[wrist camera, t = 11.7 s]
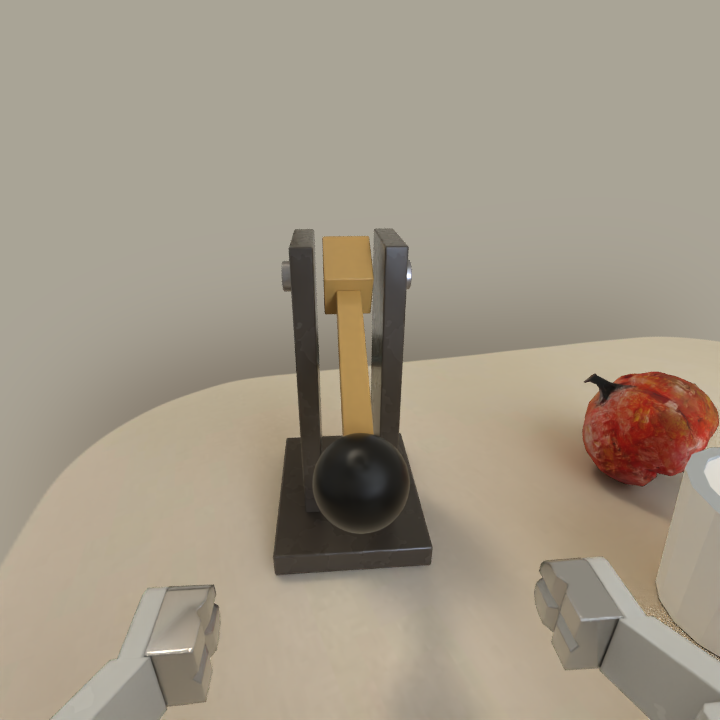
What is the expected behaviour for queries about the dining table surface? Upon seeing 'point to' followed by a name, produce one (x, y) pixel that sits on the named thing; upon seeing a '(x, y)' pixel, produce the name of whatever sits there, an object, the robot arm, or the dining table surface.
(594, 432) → the pomegranate
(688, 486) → the white cup
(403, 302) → the grey lever stand
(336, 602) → the dining table surface
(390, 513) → the latch lever
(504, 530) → the dining table surface
